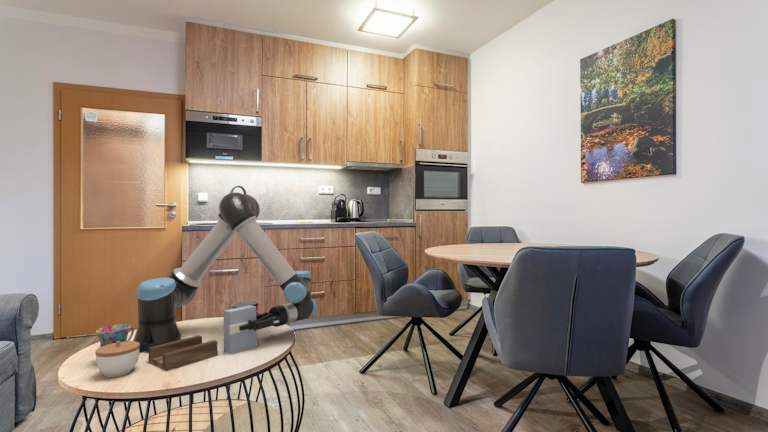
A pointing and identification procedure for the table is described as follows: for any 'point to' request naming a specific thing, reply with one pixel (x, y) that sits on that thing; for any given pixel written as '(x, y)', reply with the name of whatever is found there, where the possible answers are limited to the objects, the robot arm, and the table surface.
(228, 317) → the slate tile
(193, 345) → the walnut rack
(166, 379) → the table surface
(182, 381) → the table surface
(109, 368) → the lidded jar
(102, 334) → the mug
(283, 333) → the table surface
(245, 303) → the plastic cup
